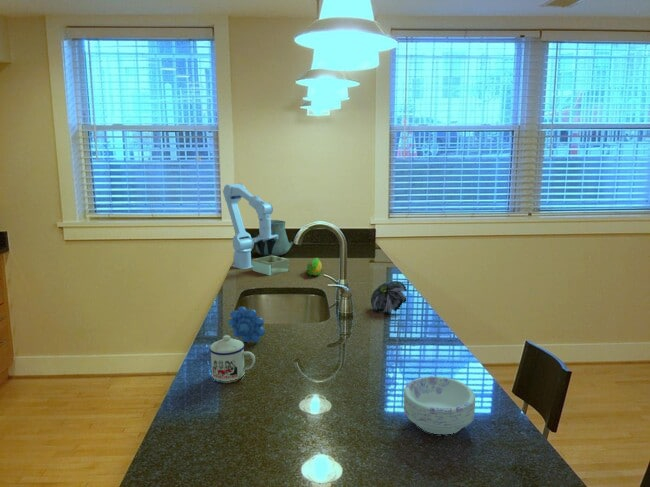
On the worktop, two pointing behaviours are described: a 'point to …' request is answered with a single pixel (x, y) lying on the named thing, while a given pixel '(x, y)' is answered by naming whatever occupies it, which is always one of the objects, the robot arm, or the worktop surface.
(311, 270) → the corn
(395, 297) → the decorative flower
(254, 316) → the blue flower ornament
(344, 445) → the worktop surface
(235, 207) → the robot arm
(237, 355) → the teacup with lid
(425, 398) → the paper bowls
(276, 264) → the crate
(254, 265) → the tailgate
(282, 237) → the vessel
